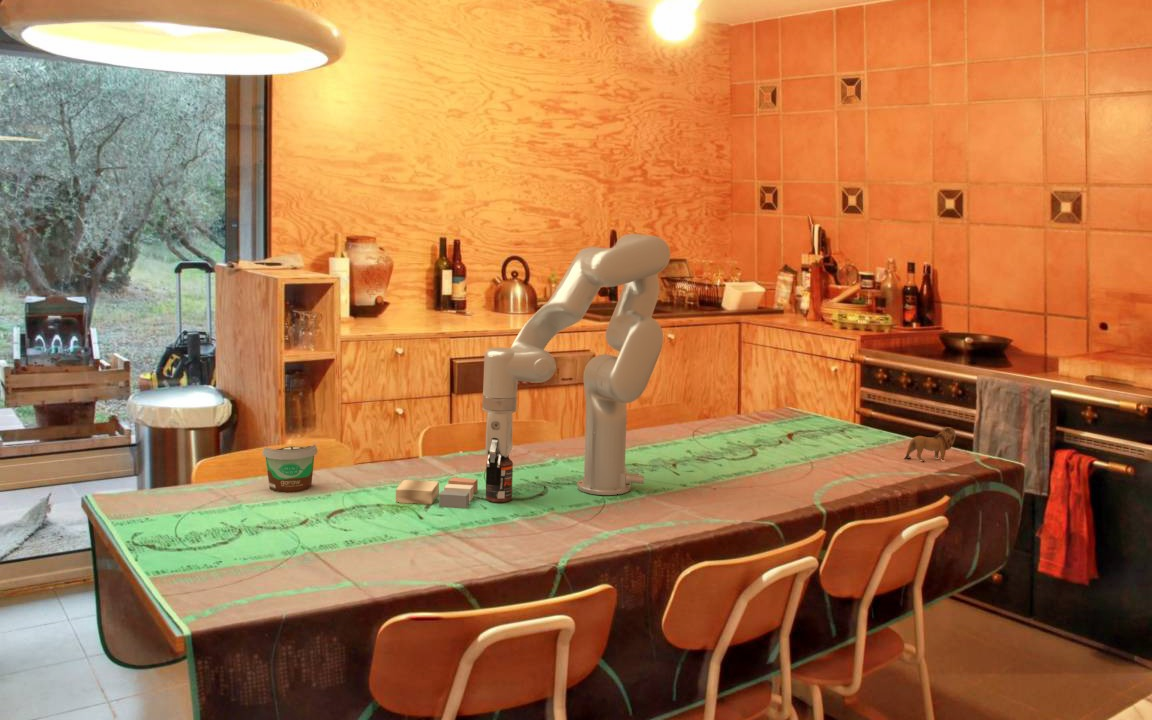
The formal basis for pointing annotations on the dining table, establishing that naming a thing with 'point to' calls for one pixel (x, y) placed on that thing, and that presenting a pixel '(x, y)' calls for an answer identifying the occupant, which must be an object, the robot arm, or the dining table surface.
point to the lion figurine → (933, 443)
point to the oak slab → (417, 491)
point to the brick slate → (454, 499)
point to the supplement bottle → (502, 483)
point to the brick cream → (460, 489)
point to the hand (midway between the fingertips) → (496, 479)
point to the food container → (290, 468)
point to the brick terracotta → (465, 482)
